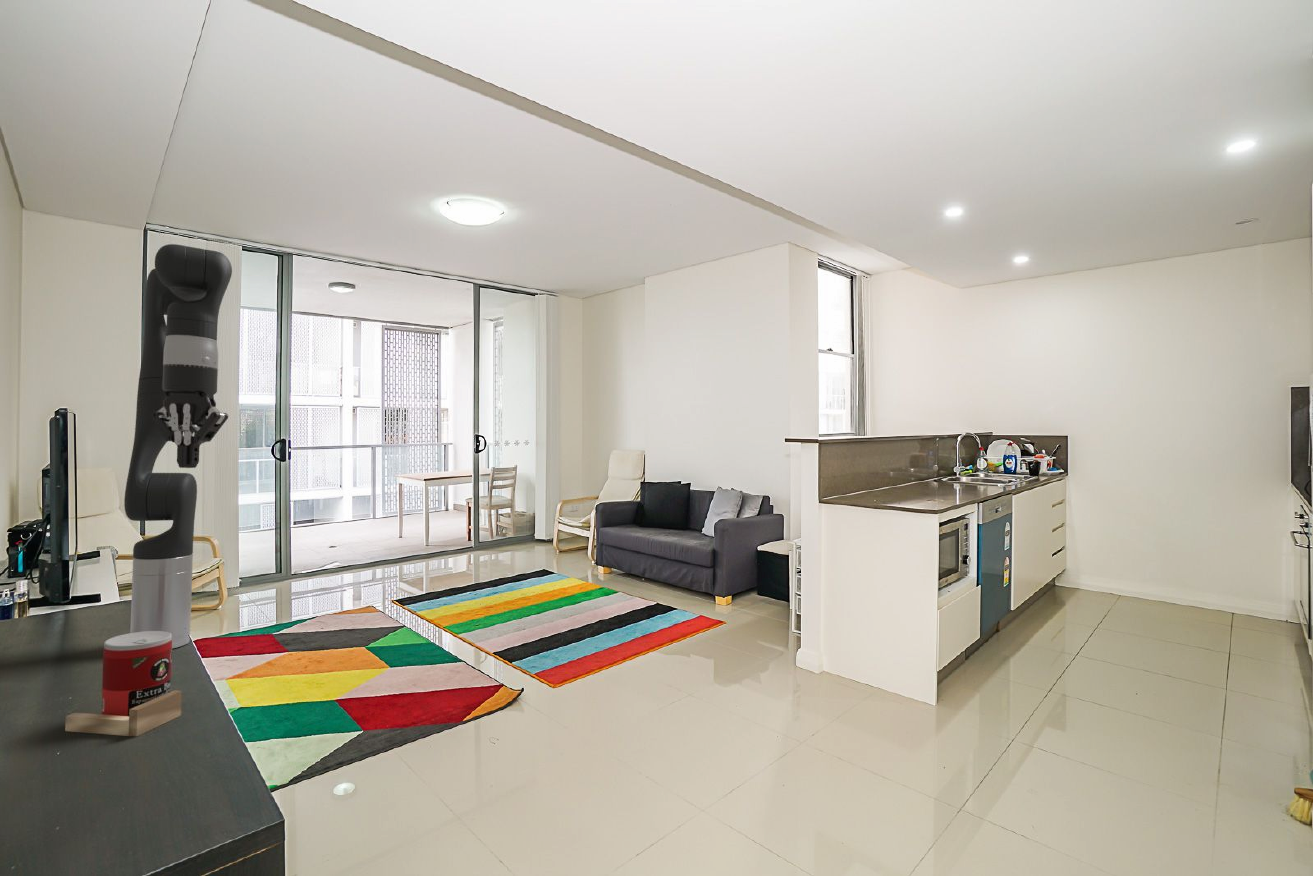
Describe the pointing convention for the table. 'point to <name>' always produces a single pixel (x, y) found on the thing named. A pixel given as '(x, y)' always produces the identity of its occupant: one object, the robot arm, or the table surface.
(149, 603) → the robot arm
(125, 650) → the canned food
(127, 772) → the table surface
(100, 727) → the bar
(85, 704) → the table surface
